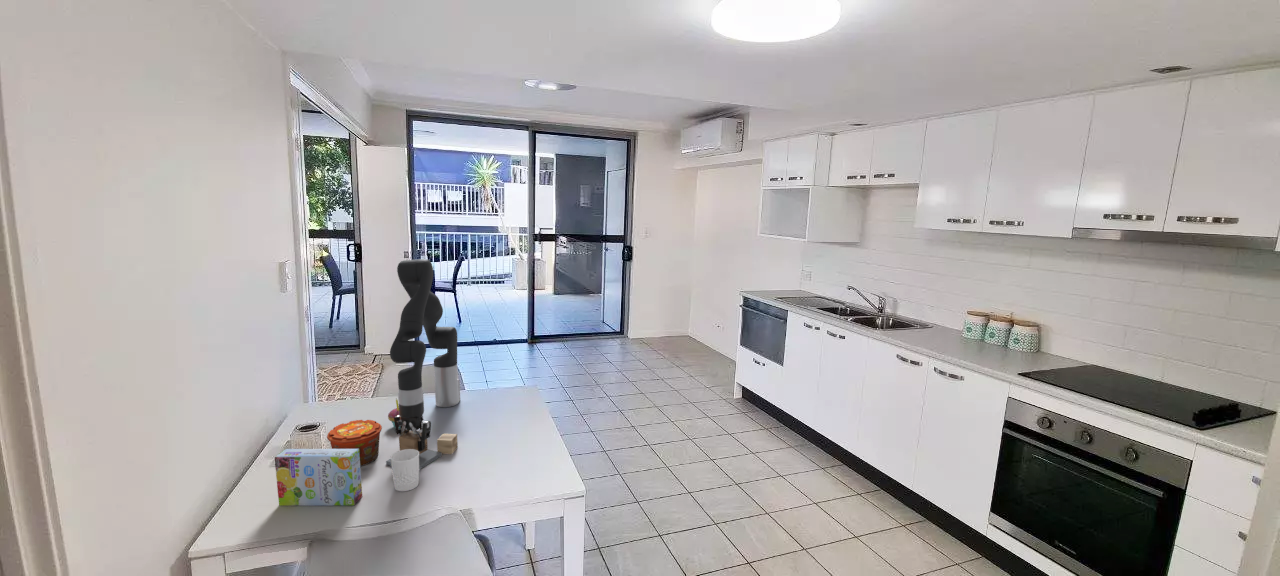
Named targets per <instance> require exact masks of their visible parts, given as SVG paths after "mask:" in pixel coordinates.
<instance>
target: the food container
mask: <svg viewBox="0 0 1280 576" xmlns="http://www.w3.org/2000/svg"><path fill="white" fill-rule="evenodd" d="M382 429H383V427H382V425H381V424H380V423H379V422H377V421H376V420H372V419H366V420H363V419H355V420H351V421H349V422H347V423H340V424H337V425H336V426H334V427H333V428H332V429H330V431H329V432H328V433H327V434H326V437H327V438H326V439H327V440H328V441H329V443H330V448H331V449H359V454H360V467H362V466H366V465H368V464H371V463H373V462H375V460H376V459H377V458H378V456H379V451H380V438H381V437H380V434H381V432H382Z"/></svg>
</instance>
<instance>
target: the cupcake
mask: <svg viewBox="0 0 1280 576" xmlns="http://www.w3.org/2000/svg"><path fill="white" fill-rule="evenodd" d="M395 404H396V408H394V409H392V410H390V411H389V413H388V415H387V418H388V420H389V421H390V422H391V423H392V425H393V427H394V429H395V423H394V417H396V416H398V415H399V401H398V398H397V397H396V398H395ZM400 429H401V428H400V427H399V430H400Z"/></svg>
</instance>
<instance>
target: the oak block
mask: <svg viewBox="0 0 1280 576" xmlns="http://www.w3.org/2000/svg"><path fill="white" fill-rule="evenodd" d="M436 448H437V449H436V450H437V452H441V453H442V455H445V454H447V455H453V454H454V453H455V451H456V450H457V449H458V433H442V434H441V435H440V436H439V438H437V440H436Z"/></svg>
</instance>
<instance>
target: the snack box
mask: <svg viewBox="0 0 1280 576" xmlns="http://www.w3.org/2000/svg"><path fill="white" fill-rule="evenodd" d="M274 466H275V477H276V489H277V497H278V506H280V507H283V506H287V507H288V506H289V507H290V506H296V507H297V506H303V507H304V506H305V507H306V506H309V507H310V506H318V507H319V506H321V507H322V506H327V507H328V506H355V505H356V504H357V503H358V502H359V500H361V499H362V497H363V486H362V473H361V472H362V471H361V466H360V454H359V449H332V448H285V449H284V450H282V451H281V452H280V453H278V454H277V455H276V456H274Z"/></svg>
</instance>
